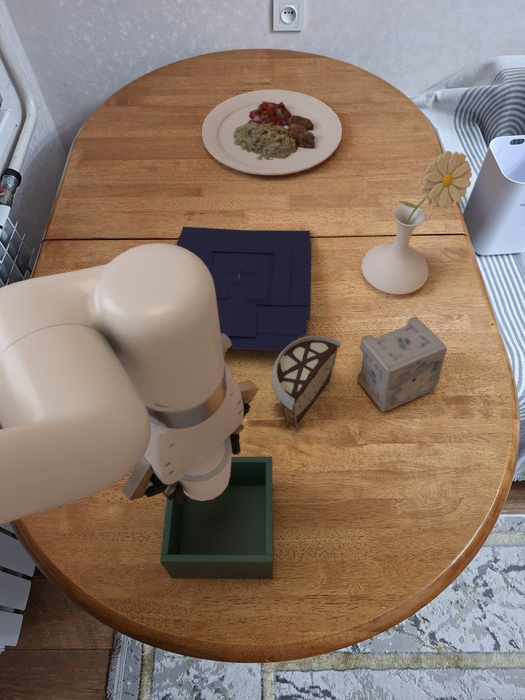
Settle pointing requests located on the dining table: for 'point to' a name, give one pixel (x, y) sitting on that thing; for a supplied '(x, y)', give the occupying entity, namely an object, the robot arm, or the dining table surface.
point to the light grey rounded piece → (209, 474)
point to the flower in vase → (398, 257)
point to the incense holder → (401, 364)
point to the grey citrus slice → (303, 375)
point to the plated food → (271, 132)
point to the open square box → (224, 528)
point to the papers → (257, 282)
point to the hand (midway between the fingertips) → (202, 468)
